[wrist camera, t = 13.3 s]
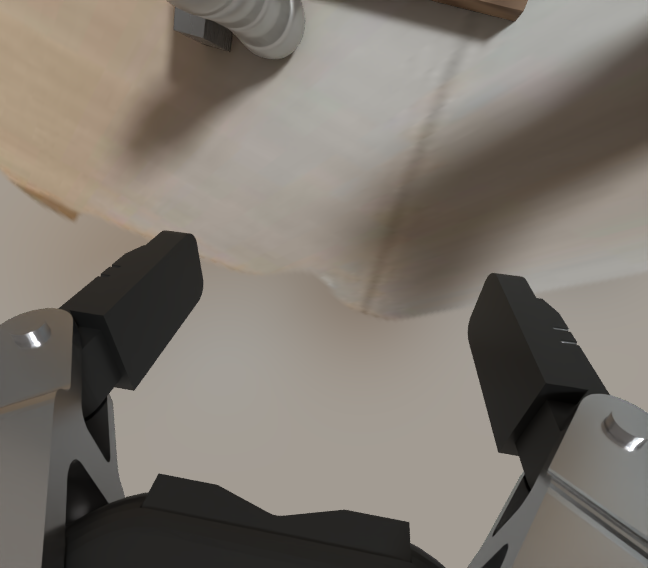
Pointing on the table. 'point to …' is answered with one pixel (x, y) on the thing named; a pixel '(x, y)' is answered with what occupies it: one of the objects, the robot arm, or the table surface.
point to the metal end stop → (202, 30)
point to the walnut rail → (491, 7)
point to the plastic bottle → (255, 22)
